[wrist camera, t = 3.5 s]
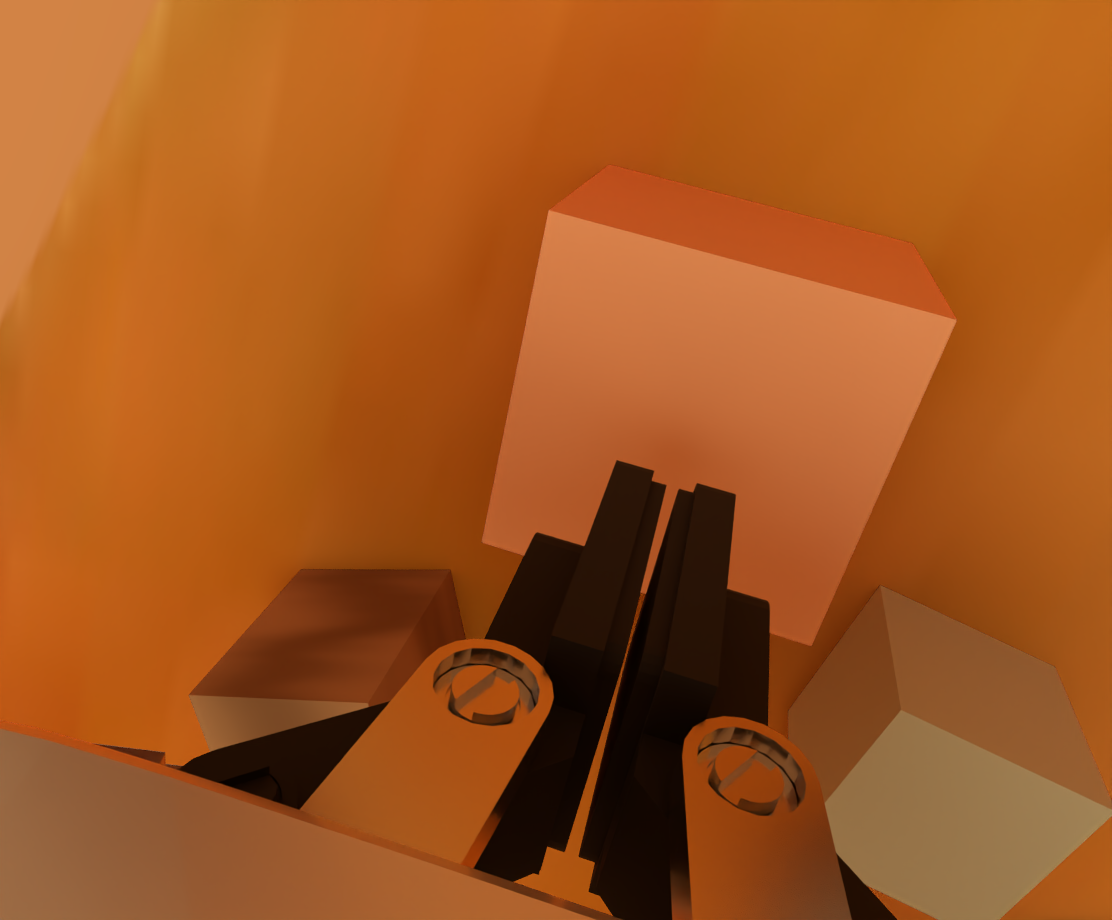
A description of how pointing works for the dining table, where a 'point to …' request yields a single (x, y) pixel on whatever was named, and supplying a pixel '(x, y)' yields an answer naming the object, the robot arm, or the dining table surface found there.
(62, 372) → the dining table surface
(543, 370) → the terracotta block
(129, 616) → the dining table surface
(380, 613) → the walnut block
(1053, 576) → the dining table surface
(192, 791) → the robot arm
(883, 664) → the greygreen block
